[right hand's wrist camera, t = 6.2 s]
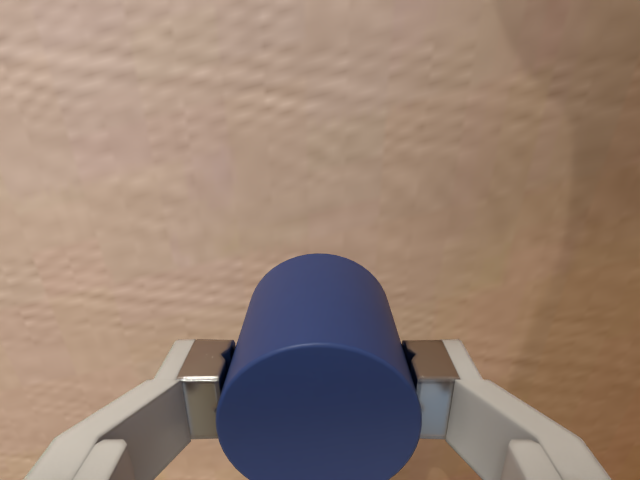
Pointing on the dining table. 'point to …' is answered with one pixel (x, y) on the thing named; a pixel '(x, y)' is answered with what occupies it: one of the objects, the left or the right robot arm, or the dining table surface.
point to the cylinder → (318, 379)
